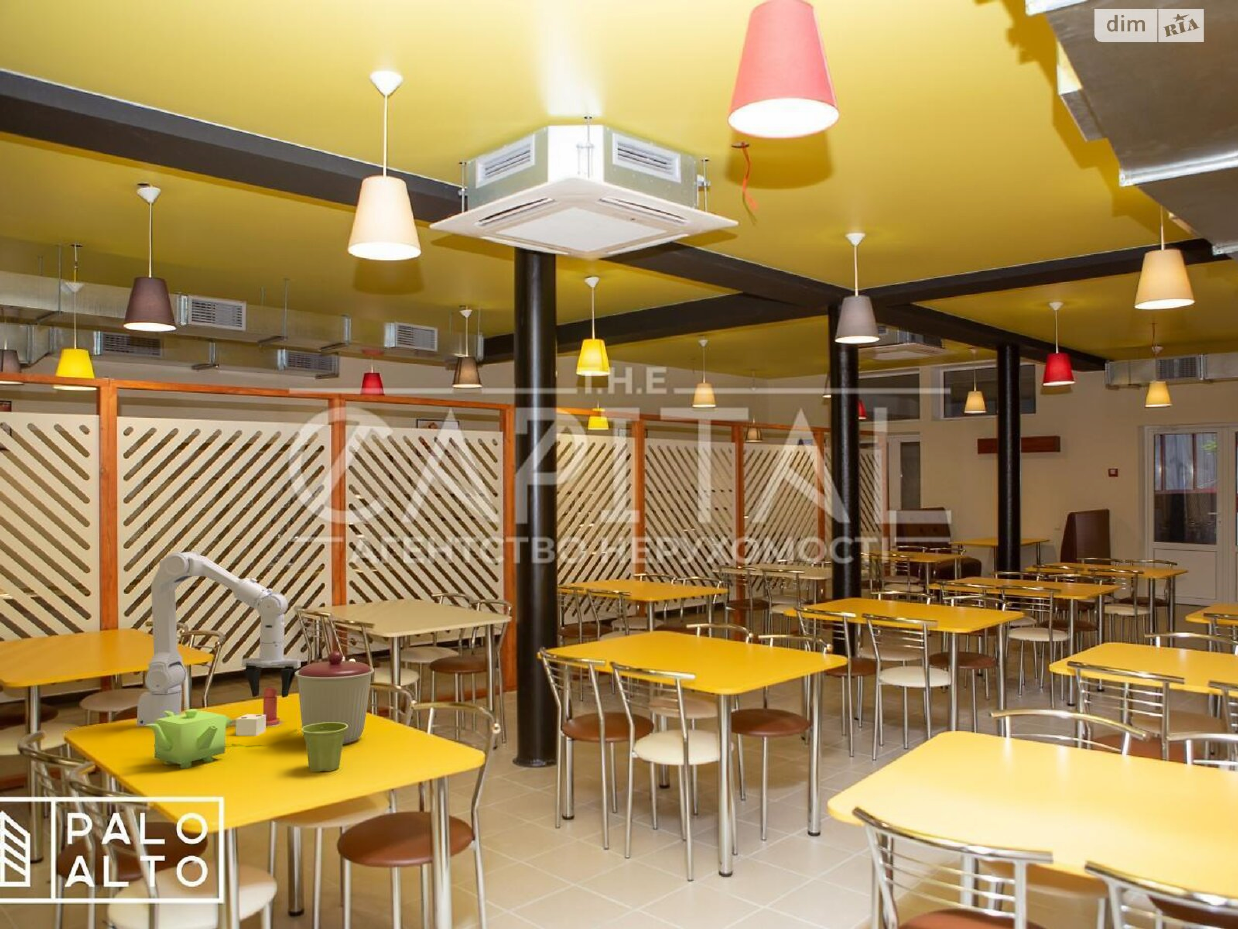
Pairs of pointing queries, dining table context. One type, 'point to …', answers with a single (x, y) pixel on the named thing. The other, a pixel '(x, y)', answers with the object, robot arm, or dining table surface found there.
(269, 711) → the pawn
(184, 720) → the kettle
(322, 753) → the plant pot
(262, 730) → the die
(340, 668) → the canister
